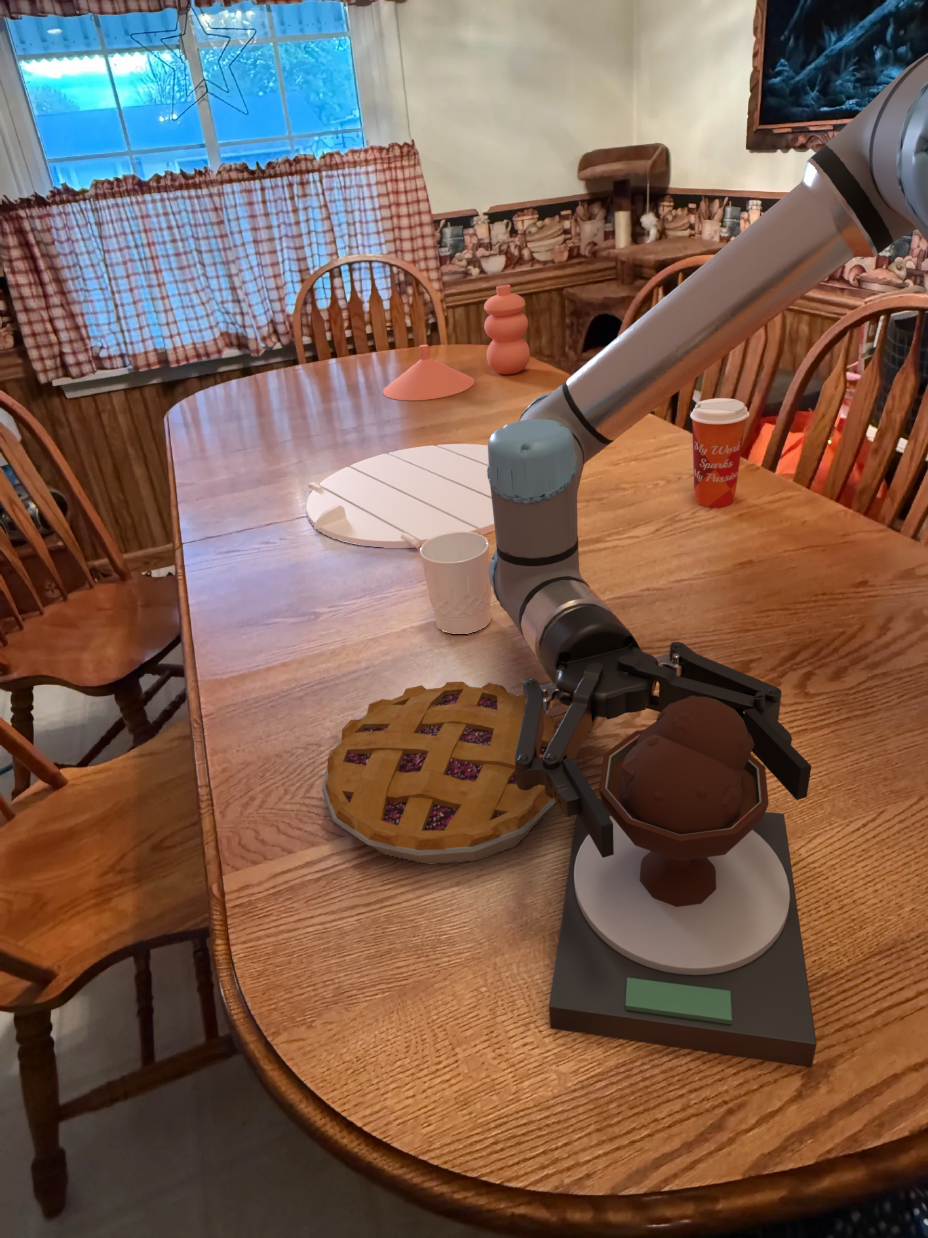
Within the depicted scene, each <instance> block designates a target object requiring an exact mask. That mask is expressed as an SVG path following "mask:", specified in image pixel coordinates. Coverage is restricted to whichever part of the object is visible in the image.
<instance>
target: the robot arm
mask: <svg viewBox="0 0 928 1238" xmlns="http://www.w3.org/2000/svg"><path fill="white" fill-rule="evenodd" d="M915 231H918V232H919V234H920V235H921V236H922V238H923V239H924V240H925V241H926V243H927V244H928V52H927V53H925V54H924V55H922V56H921V57H920V58H918V59H917V60H916V61H914V62H913V63H911V64H910V65H908V66H907V67H906V68H905V69H904V70H903V71H902V72H900V73H899V74H898V75H897V76H896V77H894V79H893V80H891V82H889V83H888V85H886V86H885V87H884V88H883V89H882V90H881V91H880V92H879V93H878V95H876V96H875V97H874V98H873V99H872V100H871V101H870V103H868V104H867V105H866V106H865V107H864V108H863V109H862V110H861V111H860V112H859V113H858V114H857V115H856V116H855V117H853V118H852V120H850V121H849V122H848V123H847V124H846V125H845V126H844V127H843V128H842V129H841V130H840V131H839V132H838V133H837V134H836V135H834V136H833V137H832V138H831V139H830V140H829V141H828V142H827V143H825V144H824V145H823V146H822V147H821V148H820V149H819V150H817V151H816V152H815V153H814V154H813V155H811V156H810V157H809V158H808V159H807V160H806V161H805V167H804V170H803V175H802V178H801V180H800V181H799V183H798V184H797V185H796V186H795V187H794V188H792V189H791V190H790V191H789V192H788V193H786V194H785V195H784V196H783V197H782V198H781V199H779V200H777V202H775V204H773V205H772V206H771V207H770V208H768V209H767V210H766V211H765V212H764V213H762V214H761V215H760V216H759V217H757V219H756V220H754V221H753V222H752V223H751V224H749V225H748V226H747V227H746V228H745V229H744V230H743V231H742V232H740V233H739V234H738V235H737V236H736V237H734V238H733V239H732V240H731V241H729V242H728V243H727V244H726V245H725V246H724V247H722V248H721V249H720V250H719V251H718V252H716V253H715V254H714V255H713V256H712V257H711V258H709V259H708V260H707V261H706V262H705V263H703V264H702V265H701V266H700V267H699V268H698V269H696V270H695V271H694V272H693V273H692V274H690V275H689V276H688V277H687V278H686V279H684V280H683V281H682V282H681V283H680V284H679V285H677V286H676V287H675V288H674V289H672V290H671V291H670V292H669V293H668V294H667V295H666V296H664V297H663V298H662V299H661V300H660V301H658V302H657V303H656V304H655V305H653V307H651V308H650V309H649V310H648V311H646V312H645V313H644V314H643V315H642V316H640V318H639V319H637V320H636V321H635V322H633V323H632V324H631V325H630V326H629V327H628V328H627V329H625V330H624V331H623V332H622V333H620V334H619V335H618V336H617V337H616V338H614V339H613V340H612V341H611V342H610V343H609V344H608V345H606V346H605V347H604V348H603V349H601V350H600V351H599V352H598V353H597V354H596V355H594V356H593V357H592V358H591V359H590V360H589V361H587V362H586V363H585V364H584V365H582V366H581V367H580V368H579V369H578V370H577V371H575V372H574V373H573V374H572V375H571V376H570V377H568V378H567V380H566V381H564V382H563V383H562V384H560V385H559V386H558V387H556V388H555V389H554V390H553V391H550V392H547V393H543V394H542V395H539V396H538V397H536V398H535V399H533V400H532V402H531V403H530V404H529V405H528V406H527V407H526V409H524V411H523V412H522V413H521V415H520V417H519V419H518V421H517V420H516V421H513V422H511V423H507V424H505V425H503V427H502V428H498V429H496V430H494V432H493V433H492V434H491V436H489V438H488V442H487V445H488V460H489V466H488V469H487V477H488V479H489V483H490V488H491V498H492V507H493V516H494V526H495V531H494V533H495V546H496V549H495V551H494V553H493V556H492V557H491V560H490V565H489V580H490V583H491V589H492V590H493V594H494V596H495V600H497V602H498V603H499V605H500V607H501V608H502V609H503V610H504V611H505V612H506V614H507V615H508V617H509V618H510V619H511V622H512V623H513V624H514V625H515V627H516V629H517V630H518V631H519V633H520V635H521V636H522V637H523V639H524V640H525V642H526V644H527V645H528V646H529V648H530V650H531V651H532V653H533V654H534V656H535V657H536V659H537V661H538V662H539V663H540V664H541V666H542V668H543V670H544V672H545V673H546V674H547V676H548V677H549V679H550V681H551V682H550V683H547V684H540V683H539V681H538V680H537V679H536V678H532V677H531V678H526V679H524V680H523V681H522V694H524V705H525V711H524V716H523V720H522V725H521V730H520V735H519V739H518V744H517V749H516V754H515V769H516V779H517V786H518V788H519V789H521V790H530V789H532V788H533V787H534V785H544V786H545V794H546V795H547V796H548V797H550V798H554V799H555V801H556V805H557V806H558V808H559V810H560V812H561V814H562V815H564V816H565V817H566V818H571V817H575V816H577V815H579V817H580V819H581V820H582V822H583V824H584V826H585V828H586V829H587V831H588V833H589V835H590V836H591V838H592V840H593V842H594V844H595V845H596V847H597V849H598V851H599V852H600V854H601V856H602V858H604V857H607V856H611V855H614V842H613V822H612V821H611V819H610V817H609V816H608V814H607V813H606V811H605V809H604V808H603V806H602V804H601V803H600V801H599V799H600V798H599V797H598V796H597V794H596V793H595V791H594V789H593V788H592V786H591V784H590V783H589V781H588V780H587V778H586V776H585V775H584V772H583V771H582V770H581V768H580V767H579V764H578V763H577V761H576V758H577V755H578V753H579V751H580V749H581V747H582V746H583V743H584V741H585V739H586V737H587V735H588V734H590V733H591V732H592V731H593V729H594V726H595V725H596V722H597V720H598V719H599V718H606V720H607V721H608V720H613V719H615V718H618V717H620V716H622V715H624V714H628V713H629V714H633V713H639V712H641V711H646V709H648V710H652V711H654V712H658V713H660V712H661V711H662V710H663V709H665V708H666V707H667V706H668V705H669V704H671V703H675V702H676V701H678V700H682V699H686V698H688V697H689V696H696V697H708V698H712V699H716V700H718V701H720V702H722V703H724V704H725V705H727V706H729V707H731V708H733V709H734V710H735V711H736V712H737V713H738V714H739V715H740V716H741V718H742V719H743V720H744V723H745V726H746V728H747V731H748V734H749V733H750V734H751V737H752V739H753V742H754V744H755V745H754V747H753V749H752V751H751V753H753V754H754V756H756V757H757V758H758V760H759V762H760V763H761V764H762V765H764V766H765V768H767V770H768V771H769V772H770V773H771V774H772V775H773V776H774V778H776V780H777V781H778V782H779V783H780V784H781V785H782V786H783V787H784V788H785V790H786V791H788V793H789V794H790V795H791V796H792V797H793V798H794V799H795V800H796V801H798V800H802V799H805V798H808V792H809V791H808V790H809V786H810V779H811V778H810V777H811V772H812V765H811V764H810V762H808V761H807V760H806V759H805V758H804V757H803V755H802V754H800V753H799V751H797V750H796V749H795V747H793V746H792V741H793V738H792V734H791V732H789V730H788V729H786V727H784V726H783V725H782V723H781V722H780V721H779V719H780V712H781V702H782V693H783V692H782V690H781V688H779V687H778V686H775V685H773V684H770V683H768V682H766V681H763V680H760V679H758V678H756V677H754V676H751V675H748V674H746V673H743V672H741V671H739V670H738V669H737V670H736V669H734V668H732V667H729V666H726V665H724V664H722V663H719V662H717V661H715V660H713V659H711V658H707V657H706V656H703V655H700V654H698V653H696V652H695V651H694V650H693V649H691V648H690V647H689V646H687V645H686V644H685V643H684V642H681V641H674V642H671V643H670V644H669V652H667V653H664V654H661V655H658V656H654V655H653V654H650V653H648V652H645V651H644V650H642V649H641V647H640V645H639V644H638V641H637V640H636V638H635V636H634V635H633V633H631V631H630V630H629V629H628V628H627V627H626V626H625V625H624V623H623V622H622V621H621V620H620V619H619V618H618V617H617V616H616V615H615V613H613V611H612V609H611V608H610V607H609V606H608V605H607V603H606V602H605V601H604V600H603V599H602V598H601V597H600V596H599V595H598V594H597V593H596V592H595V590H593V588H592V587H591V586H590V585H589V584H588V583H587V582H586V581H585V579H584V578H583V577H582V575H581V571H580V555H579V554H580V551H579V532H578V492H579V487H580V483H581V479H582V474H583V470H584V467H585V464H586V463H587V462H589V461H590V460H592V458H594V457H595V456H596V455H598V454H599V453H600V452H602V451H603V450H605V448H607V447H608V446H610V445H611V444H612V443H614V441H615V440H617V439H618V438H619V437H620V436H622V435H623V434H624V433H625V432H627V431H628V430H629V429H632V427H634V425H636V424H638V423H639V422H640V421H641V420H643V419H644V418H645V417H647V416H648V415H649V414H651V413H652V412H653V411H655V409H657V408H658V407H660V406H661V405H662V404H664V403H665V402H666V401H667V400H669V399H670V398H671V397H673V396H674V395H675V394H677V393H678V392H680V391H681V390H682V389H683V388H684V387H687V385H689V384H690V383H691V382H692V381H694V380H695V379H696V378H698V377H699V376H700V375H702V374H703V373H704V372H706V371H707V370H709V368H711V367H712V366H713V365H715V364H716V363H718V361H720V360H721V359H723V358H724V357H725V356H727V355H728V354H729V353H730V352H731V351H733V350H734V349H736V348H737V347H738V346H740V345H741V344H743V343H744V342H745V341H746V340H748V339H749V338H750V337H751V336H753V335H754V334H755V333H757V332H758V331H760V330H761V329H762V328H763V327H764V326H766V325H767V324H769V323H770V322H771V321H773V320H774V319H776V317H778V316H780V315H781V313H783V312H784V311H786V310H787V309H788V308H790V307H791V306H792V305H794V304H795V303H796V302H798V300H800V299H802V297H804V296H806V295H807V294H808V293H809V292H811V291H812V290H814V289H815V288H816V287H817V286H818V285H820V284H821V283H823V282H824V281H825V280H826V279H828V278H830V276H832V275H833V274H834V273H835V272H837V271H838V270H839V269H841V268H842V267H843V266H845V265H846V264H847V263H849V262H850V261H852V259H855V258H872V259H873V258H875V257H876V256H878V255H880V254H881V253H883V251H884V250H886V249H887V248H888V247H890V246H892V245H893V244H895V242H897V241H899V240H900V239H902V238H904V237H905V236H907V235H909V234H910V233H912V232H915ZM657 683H658V695H656V694H655V690H656V687H657ZM555 701H558V702H559V703H561V704H563V705H565V706H567V707H568V709H567V710H566V713H565V715H564V716H563V718H562V720H561V722H560V724H559V725H558V726H559V727H558V729H557V731H556V733H555V735H554V737H553V738H552V740H551V742H550V744H549V746H548V748H547V749H546V751H545V753H544V755H543V757H540V758H539V755H540V749H541V743H542V738H543V732H544V725H545V720H544V715H548V714H549V715H550V710H551V709H552V708H553V704H554V702H555Z"/></svg>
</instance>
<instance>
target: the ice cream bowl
mask: <svg viewBox="0 0 928 1238" xmlns="http://www.w3.org/2000/svg"><path fill="white" fill-rule="evenodd" d="M754 745H755V744H754V742H753V739H752V737H751V734H750V733H749V734H748V731H747V728H746V726H745V723H744V720H743V719H742V718H741V716H740V715H739V714H738V713H737V712H736V711H735V710H734V709H733V708H731V707H729V706H727V705H725V704H724V703H722V702H720V701H718V700H716V699H712V698H708V697H696V696H689V697H688V698H686V699H682V700H678V701H676V702H675V703H671V704H669V705H668V706H667V707H666V708H665V709H663V710H662V711H661V712H658V714H657V716H656V720H655V722H653V723H651V725H649V726H647V727H646V728H644V729H640V730H635V731H634V732H632V733H631V734H629V735H628V736H626V737H625V738H623V740H621V741H620V742H619V743H617V744H615V745H614V746H613V747H612V748H610V749H609V750H607V751H606V752H605V753H603V754H602V755H603V756H602V763H601V769H600V777H599V783H598V793H599V795H600V799H602V802H603V805H604V806H605V808H606V809H607V811H608V812H609V814H610V815H611V816H612V818H613V819H614V820H615V821H616V823H617V824H618V825H619V826H620V827H621V829H622V830H623V831H624V832H625V834H626V835H627V836H628V837H629V839H630V840H631V841H632V842H633V844H634V845H635V846H638V847H641V848H644V849H647V850H650V851H651V852H649V853H648V854H647V855H646V856H645V857H643V859H642V861H641V867H640V880H639V881H640V882H641V883H642V885H643V886H644V887H645V888H646V890H647V891H648V892H649V894H650V895H651V896H652V897H653V898H654V899H657V900H660V901H662V902H665V903H668V904H670V905H673V906H675V907H681V906H688V905H696V904H702V903H703V902H704V901H705V900H706V899H707V898H708V897H709V896H710V895H711V894H712V893H713V892H714V891H715V890H716V870H715V867H714V865H713V864H712V863H711V862H710V861H709V859H708V858H707V857H713V856H720V855H725V854H727V853H728V852H729V851H730V850H731V849H732V848H733V847H734V846H735V845H736V844H737V843H738V842H740V841H741V840H742V839H743V838H744V837H745V836H746V835H747V834H748V833H749V832H750V831H751V830H752V829H753V828H754V827H755V826H756V825H757V824H758V823H759V822H760V821H761V820H762V819H763V816H764V814H765V812H767V809H768V807H769V805H770V803H769V792H768V781H767V772H766V766H765V765H764V764H763V763H762V762H761V761H760V760H759V759H757V758H756V757H755V756H754V755H752V749H753V747H754Z"/></svg>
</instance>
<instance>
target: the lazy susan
mask: <svg viewBox="0 0 928 1238" xmlns="http://www.w3.org/2000/svg"><path fill="white" fill-rule="evenodd" d="M488 466H489V460H488V444H477V443H475V444H474V443H448V444H447V443H446V444H444V443H443V444H436V445H434V444H433V445H424V446H423V445H422V446H416V447H410V448H409V447H408V448H404V449H403V448H402V449H399V450H395V451H389V452H388V453H386V452H385V453H382V454H378V455H374V456H372V457H369V458H365V459H363V460H360V461H357V462H355V463H352V464H349V466H345V467H344V468H341V469H339V470H337V471H336V472H333V473H332V474H330V475H329V476H328V477H326V478H325V479H323V480H322V481H321V482H320V483H316V482H309V483H308V488H309V489H310V490H312V491H311V492H310V493H309V495H308V497H307V499H306V503H305V510H306V513H307V514H306V515H307V519H308V518H309V519H308V521H309V520H310V521H309V523H310V522H311V523H312V524H313V526H314V527H313V526H312V527H313V529H314V530H316V529H318V530H319V531H321V532H322V533H324V534H326V535H328V536H330V537H334V538H335V539H339V540H342V541H347V542H350V543H356V544H360V545H365V546H377V547H384V548H383V549H419V548H421V546H422V545H423V544H424V543H425V542H426V541H428V540H429V539H431V538H433V537H435V536H438V535H441V534H445V533H450V532H473V533H477V534H480V535H482V536H484V535H487V534H490V533H493V532H495V526H494V516H493V507H492V498H491V488H490V483H489V479H488V477H487V469H488ZM311 523H310V524H311ZM312 524H311V525H312ZM318 530H317V531H318ZM319 531H318V532H319ZM322 533H321V534H322ZM324 534H323V535H324Z"/></svg>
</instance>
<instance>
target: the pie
mask: <svg viewBox="0 0 928 1238" xmlns="http://www.w3.org/2000/svg"><path fill="white" fill-rule="evenodd" d="M524 711H525V705H524V694H523V693H522V694H519V695H517V694H515V693H513V692H510V691H508V690H507V689H506V688H505V686H504V685H503V684H498V683H497V684H496V683H491V682H488V683H486V684H485V685H483V686H482V687H476V686H470V685H468V684H467V683H466V682H464V681H446V683H444V685H443V686H441V687H435V688H425V687H424V686H423V684H421V685H416V686H412V687H408V688H405V689H404V691H403V693H402V695H400V696H398V697H397V696H396V697H395V698H392V699H386V698H381V699H379V700H376V701H373V702H370V703H369V704H368V707H367V711H366V714H364V715H363V716H362V717H360V718H358V719H350V720H349V721H348V722H347V723H346V724H345V726H343V728H342V729H341V739H340V740H339V741H338V743H337V744H336V745H335V747H334V748H332V749H331V750H330V752H329V754H328V757H327V764H326V770H325V772H324V773H325V774H324V778H323V781H322V787H321V791H322V794H323V797H324V800H325V803H326V805H327V808H328V811H329V813H330V817H331V820H332V821H333V823H335V824H336V825H338V826H340V827H341V828H342V829H344V830H345V831H346V832H348V833H350V834H351V835H352V836H354V837H356V838H357V839H358V840H360V841H362V843H364V844H365V845H368V846H370V847H371V848H373V849H374V850H376V851H377V852H379V853H381V854H382V853H383V854H382V855H384V856H387V855H389V856H388V857H392V856H394V857H393V858H396V857H398V858H397V859H401V858H403V859H402V860H405V859H408V860H407V861H410V860H413V861H412V862H414V861H417V862H416V863H419V862H421V863H420V864H423V863H426V864H425V865H428V864H429V863H443V864H447V863H446V862H456V863H461V862H460V861H470V862H475V861H474V860H478V859H480V860H482V859H481V858H483V859H485V858H484V857H486V858H488V857H487V856H489V857H491V856H493V855H492V854H494V855H496V854H495V853H497V854H499V853H498V852H500V853H502V852H501V851H503V852H505V851H507V850H506V849H508V850H510V849H509V848H511V849H514V848H515V847H516V846H517V845H518V844H520V842H521V841H522V840H523V839H524V838H525V837H526V836H527V835H528V834H529V833H530V832H531V831H532V830H533V829H534V828H535V827H536V826H537V825H538V824H539V823H540V821H541V819H542V817H543V816H544V814H545V813H547V811H549V809H551V808H552V807H553V806H554V805H555V804H557V802H556V801H555V799H554V798H550V797H548V796H547V795H546V794H545V786H544V785H534V787H533V788H532V789H530V790H521V789H519V788H518V786H517V779H516V769H515V754H516V749H517V744H518V739H519V735H520V730H521V725H522V720H523V716H524ZM544 720H545V725H544V732H543V738H542V743H541V749H540V755H539V758H540V757H543V755H544V753H545V751H546V749H547V748H548V746H549V744H550V742H551V740H552V738H553V737H554V735H555V733H556V731H557V729H558V727H559V726H560V725H559V724H558V723H557V721H556V719H554V717H553V716H552V715H551V714H550V713H549V714H548V715H544ZM535 825H536V826H535ZM534 826H535V827H534ZM533 827H534V828H533ZM532 828H533V829H532ZM531 829H532V830H531ZM530 830H531V831H530ZM529 831H530V832H529ZM528 832H529V833H528ZM527 833H528V834H527ZM526 834H527V835H526ZM525 835H526V836H525ZM524 836H525V837H524ZM523 837H524V838H523ZM520 840H521V841H520ZM513 847H514V848H513ZM504 850H505V851H504ZM490 855H491V856H490ZM478 861H479V860H478ZM429 865H430V864H429Z"/></svg>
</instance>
